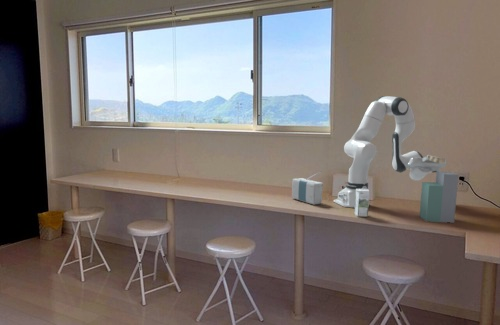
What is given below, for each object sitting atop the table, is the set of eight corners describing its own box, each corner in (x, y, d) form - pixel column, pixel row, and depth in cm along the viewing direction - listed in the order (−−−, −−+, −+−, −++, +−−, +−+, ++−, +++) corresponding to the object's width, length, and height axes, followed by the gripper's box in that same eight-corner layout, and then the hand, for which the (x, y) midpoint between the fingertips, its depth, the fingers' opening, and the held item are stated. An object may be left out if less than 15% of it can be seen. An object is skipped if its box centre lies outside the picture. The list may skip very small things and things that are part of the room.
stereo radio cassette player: (291, 199, 255) (292, 167, 253) (301, 197, 260) (302, 167, 257) (313, 205, 238) (314, 172, 235) (323, 204, 242) (325, 171, 240)
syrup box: (364, 214, 219) (366, 188, 218) (368, 217, 214) (369, 190, 212) (354, 214, 219) (355, 188, 217) (357, 217, 213) (359, 190, 212)
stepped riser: (419, 216, 217) (422, 170, 214) (446, 217, 216) (450, 171, 213) (426, 221, 207) (429, 173, 204) (454, 222, 206) (458, 174, 203)
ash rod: (426, 159, 234) (427, 155, 234) (431, 159, 234) (431, 155, 234) (439, 163, 215) (440, 158, 215) (444, 163, 215) (445, 158, 215)
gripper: (405, 161, 244) (412, 151, 232) (440, 162, 243) (449, 152, 230) (406, 170, 242) (414, 161, 229) (441, 171, 240) (451, 162, 228)
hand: (432, 157), depth 230 cm, fingers closed on ash rod, 3 cm apart
